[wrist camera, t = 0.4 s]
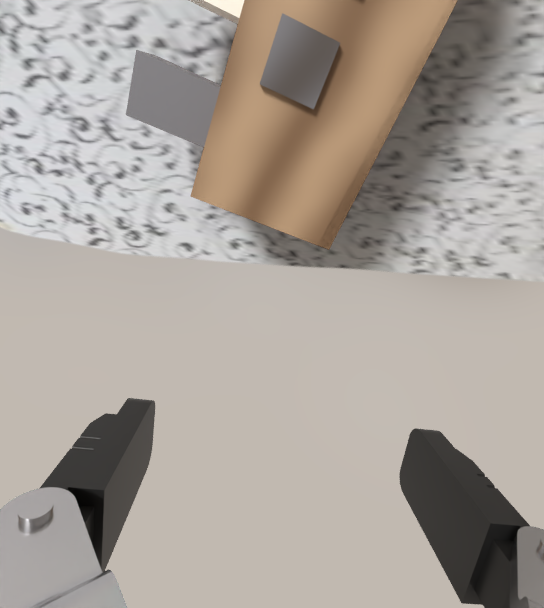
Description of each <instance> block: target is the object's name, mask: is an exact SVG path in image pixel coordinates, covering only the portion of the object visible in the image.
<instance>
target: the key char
mask: <svg viewBox="0 0 544 608" xmlns="http://www.w3.org/2000/svg"><path fill="white" fill-rule="evenodd" d="M220 87H221V85H219V84H217V83H215V82H213V81H210V80H208V79H206V78H204V77H202V76H199V75H197V74H195V73H193V72H191V71H188V70H186V69H184V68H182V67H180V66H177V65H175V64H173V63H171V62H169V61H166V60H164V59H162V58H160V57H158V56H155V55H152V54H149V53H145V52H142V51H138V50H136V56H135V62H134V68H133V74H132V80H131V87H130V93H129V99H128V105H127V111H126V115H127V116H130V117H132V118H135V119H137V120H139V121H142V122H144V123H147V124H149V125H151V126H154V127H156V128H159V129H161V130H163V131H166V132H168V133H171V134H173V135H175V136H178V137H180V138H183V139H185V140H187V141H190V142H192V143H195V144H197V145H199V146H202V147H204V146H205V142H206V138H207V135H208V131H209V127H210V124H211V120H212V116H213V113H214V109H215V105H216V102H217V98H218V95H219V91H220Z"/></svg>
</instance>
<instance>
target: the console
mask: <svg viewBox="0 0 544 608" xmlns="http://www.w3.org/2000/svg"><path fill="white" fill-rule="evenodd" d="M457 1H458V0H244V3H243V7H242V11H241V14H240V18H239V22H238V25H237V29H236V33H235V36H234V40H233V44H232V47H231V51H230V54H229V58H228V62H227V65H226V69H225V73H224V76H223V80H222V84H221V87H220V91H219V95H218V98H217V102H216V105H215V109H214V113H213V116H212V120H211V124H210V127H209V131H208V135H207V138H206V142H205V146H204V149H203V153H202V156H201V160H200V164H199V167H198V171H197V175H196V178H195V182H194V186H193V189H192V193H191V197H194V198H196V199H199V200H201V201H204V202H207V203H209V204H212V205H214V206H217V207H219V208H222V209H225V210H227V211H230V212H232V213H235V214H238V215H240V216H243V217H245V218H248V219H250V220H253V221H256V222H258V223H261V224H263V225H266V226H269V227H271V228H274V229H276V230H279V231H281V232H284V233H287V234H289V235H292V236H294V237H297V238H300V239H302V240H305V241H307V242H310V243H312V244H315V245H318V246H320V247H323V248H325V249H328V250H329V249H330V247H331V245H332V243H333V241H334V239H335V237H336V235H337V233H338V231H339V229H340V228H341V226H342V224H343V222H344V220H345V218H346V216H347V214H348V212H349V210H350V208H351V206H352V204H353V202H354V200H355V198H356V197H357V195H358V193H359V191H360V189H361V187H362V185H363V183H364V181H365V179H366V177H367V175H368V173H369V171H370V169H371V167H372V165H373V164H374V162H375V160H376V158H377V156H378V154H379V152H380V150H381V148H382V146H383V144H384V142H385V140H386V138H387V136H388V134H389V133H390V131H391V129H392V127H393V125H394V123H395V121H396V119H397V117H398V115H399V113H400V111H401V109H402V107H403V105H404V103H405V102H406V100H407V98H408V96H409V94H410V92H411V90H412V88H413V86H414V84H415V82H416V80H417V78H418V76H419V74H420V72H421V71H422V69H423V67H424V65H425V63H426V61H427V59H428V57H429V55H430V53H431V51H432V49H433V47H434V45H435V43H436V41H437V39H438V38H439V36H440V34H441V32H442V30H443V28H444V26H445V24H446V22H447V20H448V18H449V16H450V14H451V12H452V10H453V8H454V7H455V5H456V3H457Z"/></svg>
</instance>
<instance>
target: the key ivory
mask: <svg viewBox="0 0 544 608" xmlns="http://www.w3.org/2000/svg"><path fill="white" fill-rule="evenodd" d="M189 1H191V2H193V3H195V4H197V5H199V6H201V7H203V8H205V9H207V10H209V11H211V12H214V13H216V14H218V15H220V16H222V17H224V18H226V19H228V20H230V21H232V22H234V23H236V24H238V22H239V18H240V14H241V11H242V7H243V3H244V0H189Z"/></svg>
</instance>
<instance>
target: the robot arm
mask: <svg viewBox="0 0 544 608" xmlns="http://www.w3.org/2000/svg"><path fill="white" fill-rule="evenodd" d="M154 415H155V402H154V401H152V400H142V399H133V398H128V399H127V400H126V402H125V404H124V405H123V406H122V408H121V409H120V411H119V412H118V414H117V415H115V414H104V415H103V416H101V417H99V418H98V419H96V420H95V421H93V422H91V423H90V424H89V426H88V427H87V428H86V429H85V431H84V432H83V433H82V434H81V437H80V438H79V439H78V440H77V441H76V442H75V444H74V445H73V446H72V449H70V450H69V451H68V452H67V454H66V455H65V456H64V458H63V459H62V460H61V461H60V463H59V464H58V465H57V467H56V468H55V469H54V470H53V472H52V473H51V474H50V476H49V477H48V478H47V479H46V481H45V482H44V483H43V485H42V486H41V487H40V488H39V489H36V490H32V491H29V492H26V493H24V494H22V495H20V496H18V497H16V498H14V499H13V500H11V501H10V502H8V503H7V504H6V505H5V506H4V507H3V508H2V509H0V608H127V606H126V603H125V601H124V598H123V596H122V593H121V590H120V588H119V585H118V583H117V580H116V578H115V576H114V574H113V573H112V571H111V570H107V571H105V568H106V566H107V564H108V561H109V559H110V557H111V554H112V552H113V549H114V547H115V545H116V542H117V540H118V537H119V535H120V533H121V530H122V528H123V525H124V523H125V521H126V518H127V516H128V513H129V511H130V509H131V506H132V504H133V501H134V499H135V497H136V494H137V492H138V489H139V487H140V485H141V482H142V480H143V477H144V475H145V473H146V470H147V468H148V465H149V461H150V456H151V451H152V443H153V429H154ZM400 485H401V489H402V492H403V493H404V496H405V497H406V499H407V501H408V503H409V505H410V507H411V509H412V511H413V513H414V514H415V516H416V518H417V520H418V522H419V524H420V526H421V527H422V529H423V531H424V533H425V535H426V537H427V539H428V541H429V543H430V545H431V546H432V548H433V550H434V552H435V554H436V556H437V558H438V560H439V561H440V563H441V565H442V567H443V569H444V571H445V573H446V575H447V576H448V578H449V580H450V582H451V584H452V586H453V588H454V590H455V591H456V593H457V595H458V597H459V599H460V601H461V603H466V604H482V605H483V606H484V607H485V608H544V530H543V529H540V528H536V527H531V526H530V525H529V524H528V523H527V522H526V521H525V520H524V519H523V517H521V515H520V514H519V513H518V512H517V511H516V510H515V508H514V507H513V506H512V505H511V504H510V503H509V502H508V500H507V499H506V498H505V497H504V496H503V495H502V494H501V492H500V491H499V490H498V489H496V488H495V487H494V485H493V483H492V482H491V481H490V480H489V479H488V478H487V477H485V475H484V473H483V472H482V471H481V470H480V469H479V468H478V466H477V465H476V464H475V463H474V462H473V461H472V460H471V459H469V458H468V457H466V456H465V455H464V454H462V453H461V452H460V451H458V450H457V449H455V448H454V447H453V446H452V444H451V443H450V442H449V441H448V440H447V439H446V437H445V436H444V435H443V434H442V433H441V432H440V431H434V430H424V429H414V430H412V432H411V433H410V437H409V440H408V444H407V447H406V451H405V455H404V458H403V462H402V466H401V470H400ZM104 571H105V572H104Z"/></svg>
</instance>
